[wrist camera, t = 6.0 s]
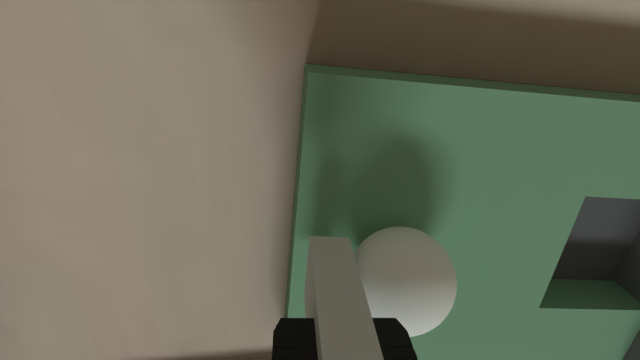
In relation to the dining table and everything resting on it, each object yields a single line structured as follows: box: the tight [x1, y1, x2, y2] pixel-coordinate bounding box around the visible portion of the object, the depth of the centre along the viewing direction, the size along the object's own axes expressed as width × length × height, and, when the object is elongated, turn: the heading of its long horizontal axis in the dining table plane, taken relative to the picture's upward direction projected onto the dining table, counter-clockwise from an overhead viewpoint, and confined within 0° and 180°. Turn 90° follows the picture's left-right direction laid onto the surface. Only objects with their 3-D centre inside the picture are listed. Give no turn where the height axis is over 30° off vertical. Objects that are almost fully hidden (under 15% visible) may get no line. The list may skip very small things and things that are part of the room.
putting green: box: [285, 64, 640, 360], centre depth 17 cm, size 20×14×4 cm
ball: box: [354, 226, 457, 337], centre depth 14 cm, size 4×4×4 cm
